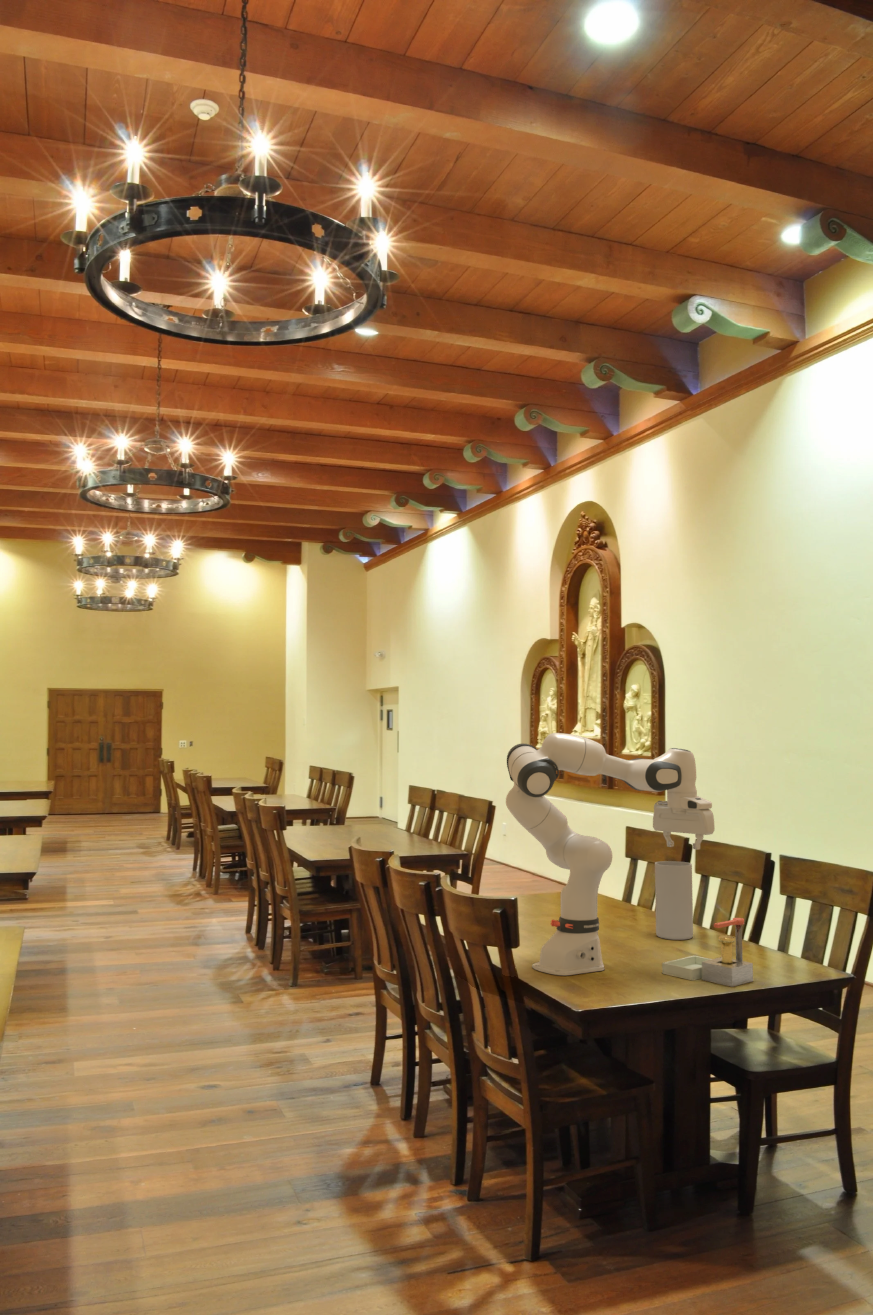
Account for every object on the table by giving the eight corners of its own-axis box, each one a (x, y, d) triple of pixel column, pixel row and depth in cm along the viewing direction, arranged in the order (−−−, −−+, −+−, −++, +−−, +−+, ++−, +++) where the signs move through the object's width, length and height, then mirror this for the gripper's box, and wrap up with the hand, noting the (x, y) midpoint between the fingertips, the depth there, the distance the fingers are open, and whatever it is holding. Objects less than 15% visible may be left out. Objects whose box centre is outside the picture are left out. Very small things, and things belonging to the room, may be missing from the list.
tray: (692, 980, 275) (692, 969, 275) (662, 973, 283) (662, 963, 283) (724, 972, 285) (724, 961, 285) (694, 965, 293) (694, 955, 293)
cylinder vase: (690, 933, 341) (688, 861, 343) (696, 941, 329) (694, 866, 331) (653, 932, 342) (652, 861, 344) (658, 940, 330) (657, 865, 332)
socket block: (732, 987, 268) (731, 932, 269) (702, 980, 276) (701, 927, 277) (758, 980, 276) (756, 927, 277) (727, 973, 284) (726, 921, 285)
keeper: (736, 922, 282) (736, 917, 282) (746, 924, 280) (746, 919, 280) (711, 927, 275) (711, 922, 275) (721, 929, 272) (721, 924, 272)
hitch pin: (729, 983, 272) (728, 939, 273) (716, 980, 275) (715, 937, 276) (738, 981, 275) (737, 937, 276) (725, 978, 278) (724, 935, 279)
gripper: (647, 800, 300) (648, 846, 299) (704, 804, 285) (705, 851, 283) (660, 799, 304) (661, 844, 303) (716, 803, 289) (718, 850, 288)
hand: (683, 848), depth 293 cm, fingers open, 8 cm apart
